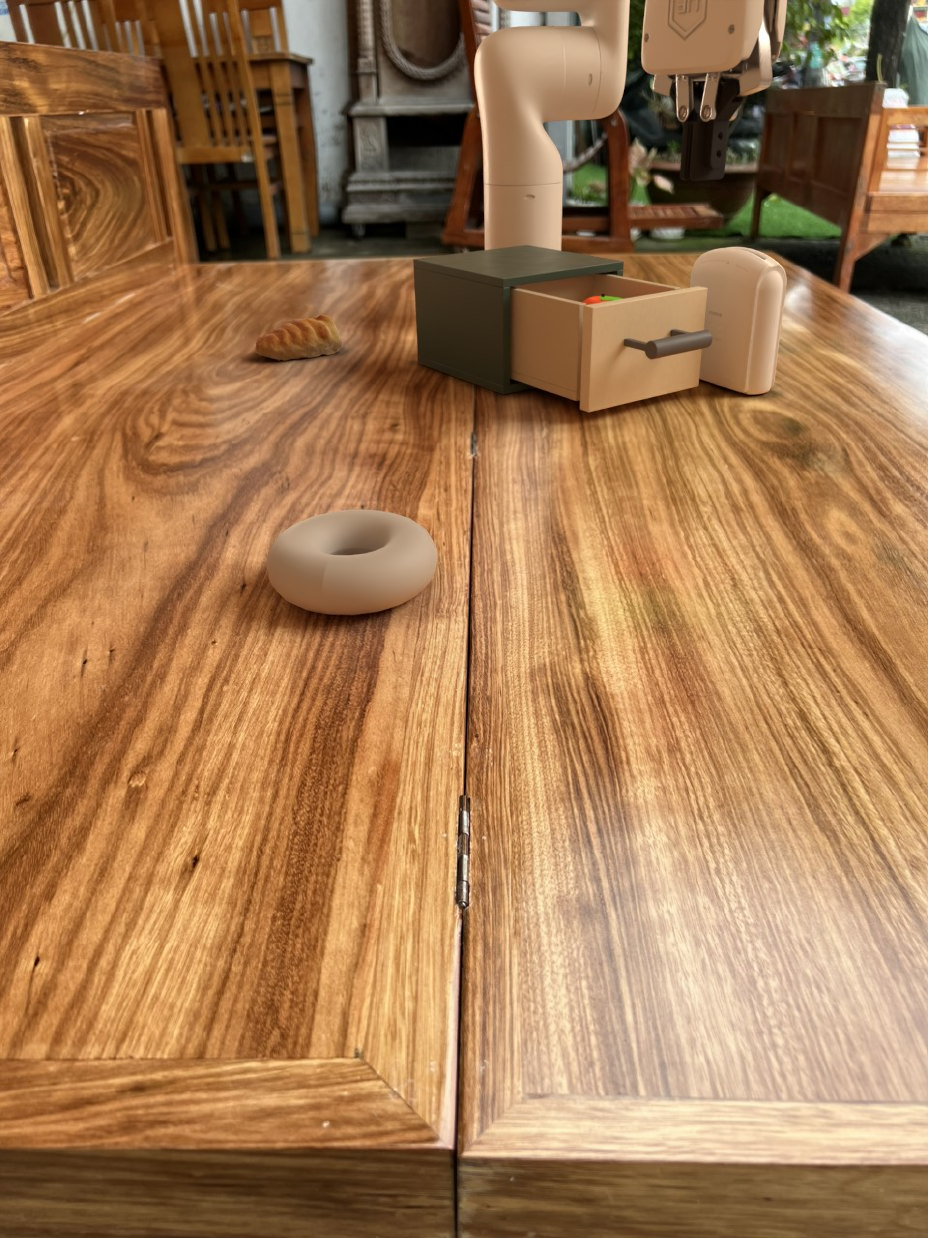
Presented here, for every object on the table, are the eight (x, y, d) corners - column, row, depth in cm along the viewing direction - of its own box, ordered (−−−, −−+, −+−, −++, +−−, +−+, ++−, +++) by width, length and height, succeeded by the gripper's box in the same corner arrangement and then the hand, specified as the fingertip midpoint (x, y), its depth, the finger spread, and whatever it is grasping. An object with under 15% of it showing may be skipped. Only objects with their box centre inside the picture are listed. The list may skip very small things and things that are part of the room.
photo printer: (675, 374, 96) (686, 243, 90) (709, 368, 98) (723, 239, 92) (744, 398, 88) (761, 257, 82) (780, 392, 90) (799, 252, 84)
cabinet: (618, 369, 98) (623, 261, 93) (503, 394, 91) (502, 278, 86) (526, 342, 110) (526, 244, 105) (417, 363, 103) (412, 258, 98)
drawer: (733, 396, 86) (745, 294, 82) (621, 424, 80) (628, 315, 75) (595, 356, 100) (599, 267, 95) (491, 378, 93) (490, 284, 89)
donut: (433, 548, 61) (276, 553, 61) (432, 497, 60) (271, 502, 59) (444, 623, 53) (260, 630, 52) (443, 566, 51) (253, 573, 50)
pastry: (274, 366, 103) (269, 330, 101) (245, 356, 108) (240, 321, 106) (348, 351, 108) (345, 317, 106) (317, 342, 113) (313, 309, 111)
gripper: (610, -102, 69) (600, 178, 77) (776, -146, 58) (742, 187, 66) (685, -94, 72) (668, 173, 81) (855, -134, 61) (813, 180, 70)
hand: (701, 178), depth 74 cm, fingers closed
